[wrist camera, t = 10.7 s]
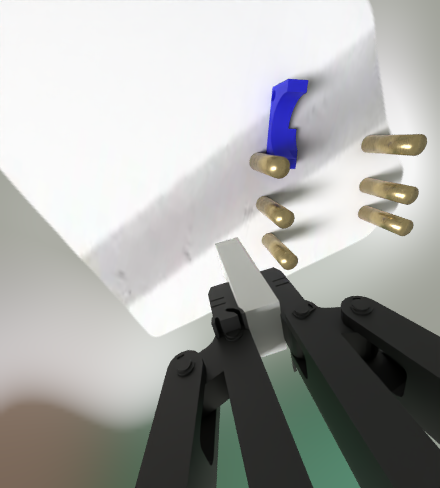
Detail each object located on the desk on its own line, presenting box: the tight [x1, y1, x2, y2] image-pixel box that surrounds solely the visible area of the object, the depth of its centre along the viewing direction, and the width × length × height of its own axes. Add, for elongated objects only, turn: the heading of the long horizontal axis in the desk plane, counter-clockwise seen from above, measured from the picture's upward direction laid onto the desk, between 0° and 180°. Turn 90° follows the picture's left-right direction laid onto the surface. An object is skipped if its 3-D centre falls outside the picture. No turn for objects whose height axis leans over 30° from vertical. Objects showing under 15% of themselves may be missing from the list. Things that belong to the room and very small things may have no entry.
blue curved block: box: [266, 79, 308, 169], centre depth 38 cm, size 12×4×6 cm, turn 179°
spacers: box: [250, 134, 427, 270], centre depth 42 cm, size 19×25×10 cm
